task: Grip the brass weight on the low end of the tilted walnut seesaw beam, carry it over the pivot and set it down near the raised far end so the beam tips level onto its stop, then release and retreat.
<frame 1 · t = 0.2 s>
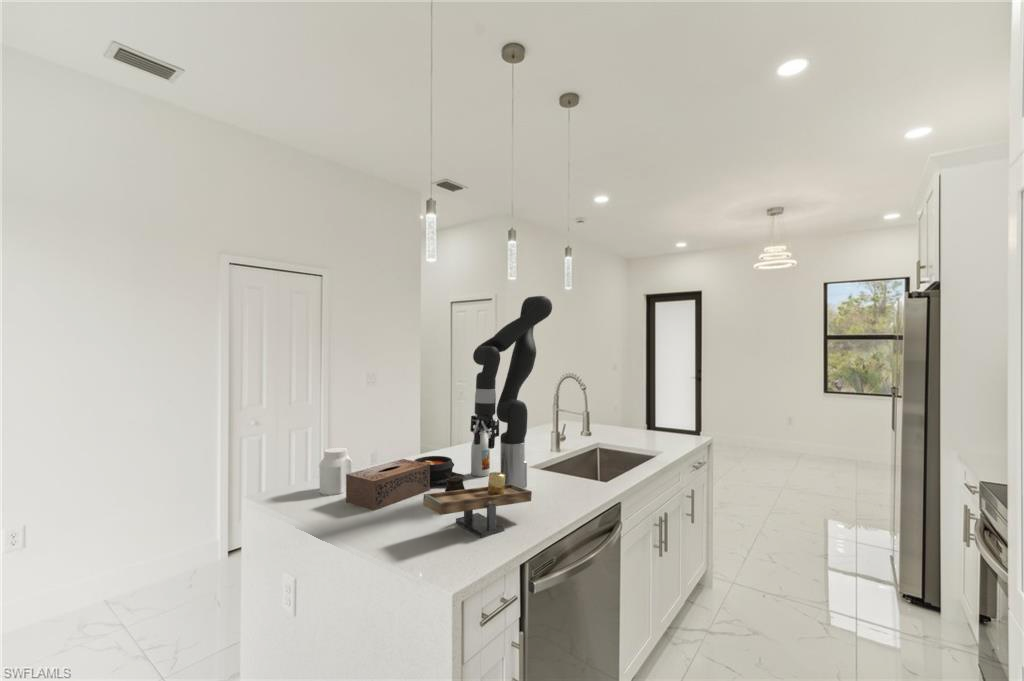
hand: (483, 446, 167), 17 cm above the countertop, tool pointing down, fingers open, 8 cm apart
pivot stand: (479, 526, 138), on the countertop
tissue box cover: (389, 497, 166), on the countertop
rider: (495, 494, 142), point 8 cm above the countertop, tilted 5°, touching beam
casserole: (432, 481, 185), on the countertop
jar: (336, 490, 173), on the countertop
mate gourd: (454, 502, 160), on the countertop
milk bottle: (480, 475, 194), on the countertop
beam: (479, 497, 138), point 8 cm above the countertop, hinge at -5.2°, touching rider
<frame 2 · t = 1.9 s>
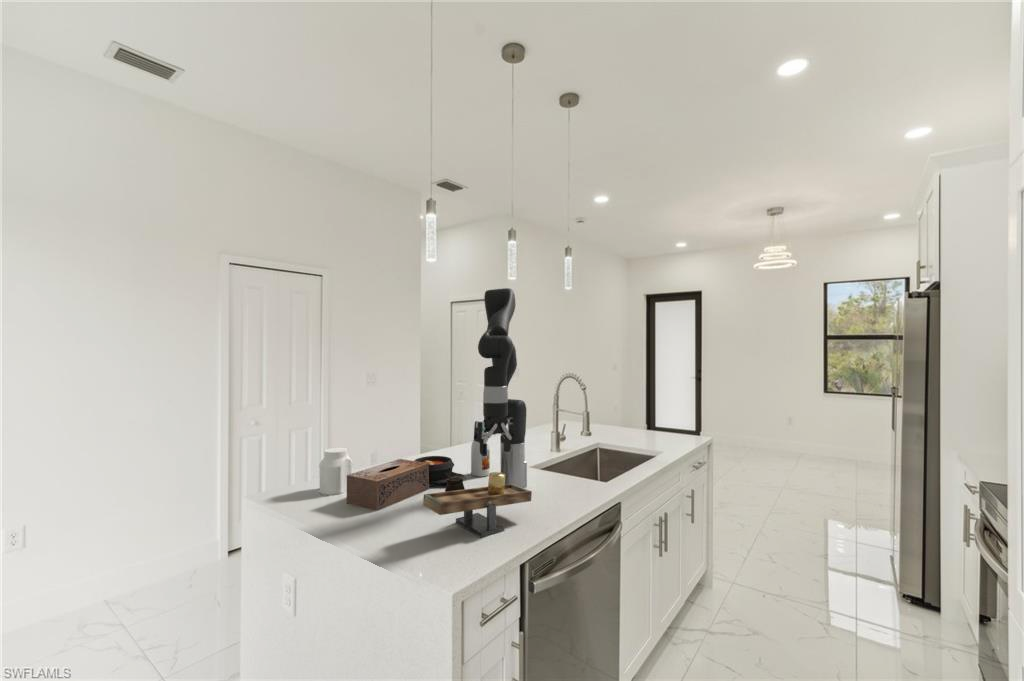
hand: (495, 453, 142), 21 cm above the countertop, tool pointing down, fingers open, 8 cm apart
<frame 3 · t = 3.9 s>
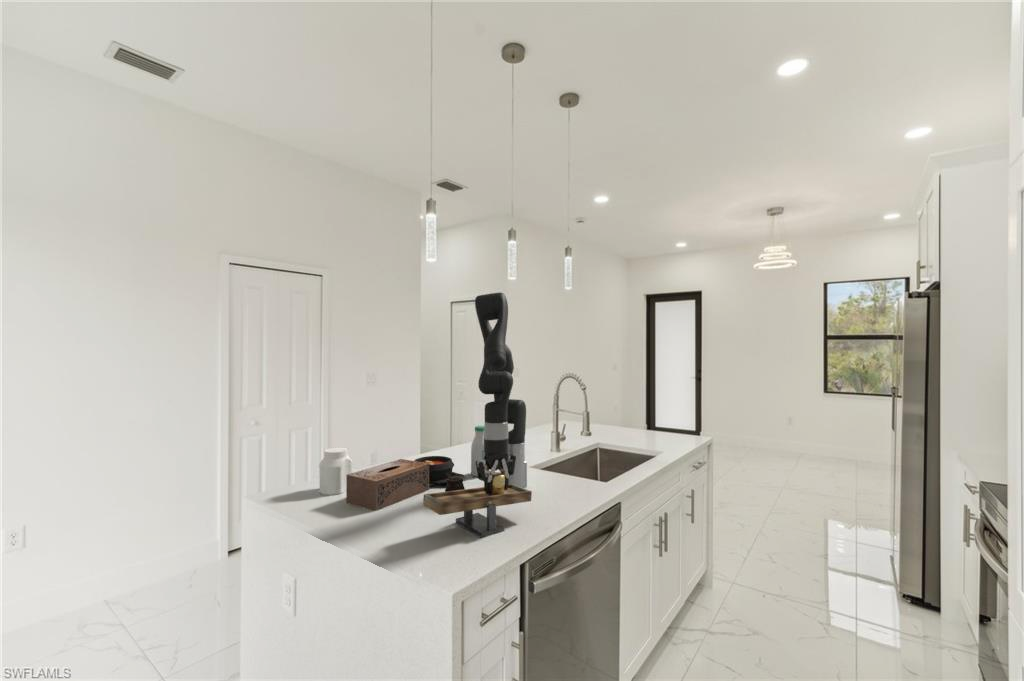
hand: (496, 491, 142), 9 cm above the countertop, tool pointing down, fingers closed on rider, 5 cm apart
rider: (495, 493, 142), point 8 cm above the countertop, tilted 5°, touching beam, gripper
everything else where it was.
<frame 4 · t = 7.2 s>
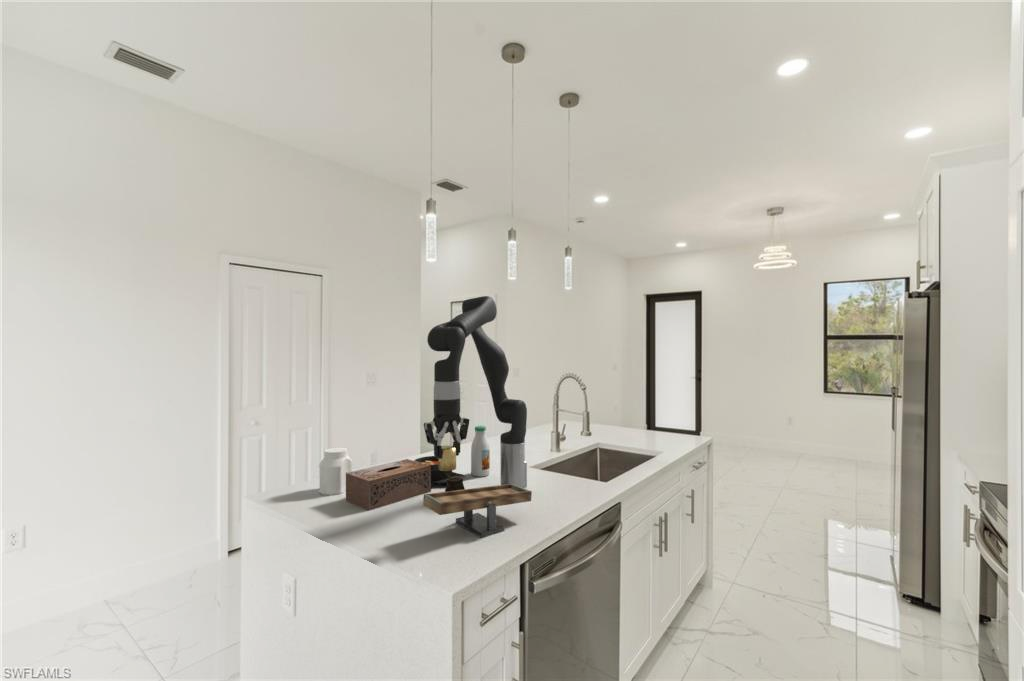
hand: (447, 456, 132), 22 cm above the countertop, tool pointing down, fingers closed on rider, 5 cm apart
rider: (447, 468, 132), point 19 cm above the countertop, touching gripper
beam: (479, 497, 138), point 8 cm above the countertop, hinge at -5.1°
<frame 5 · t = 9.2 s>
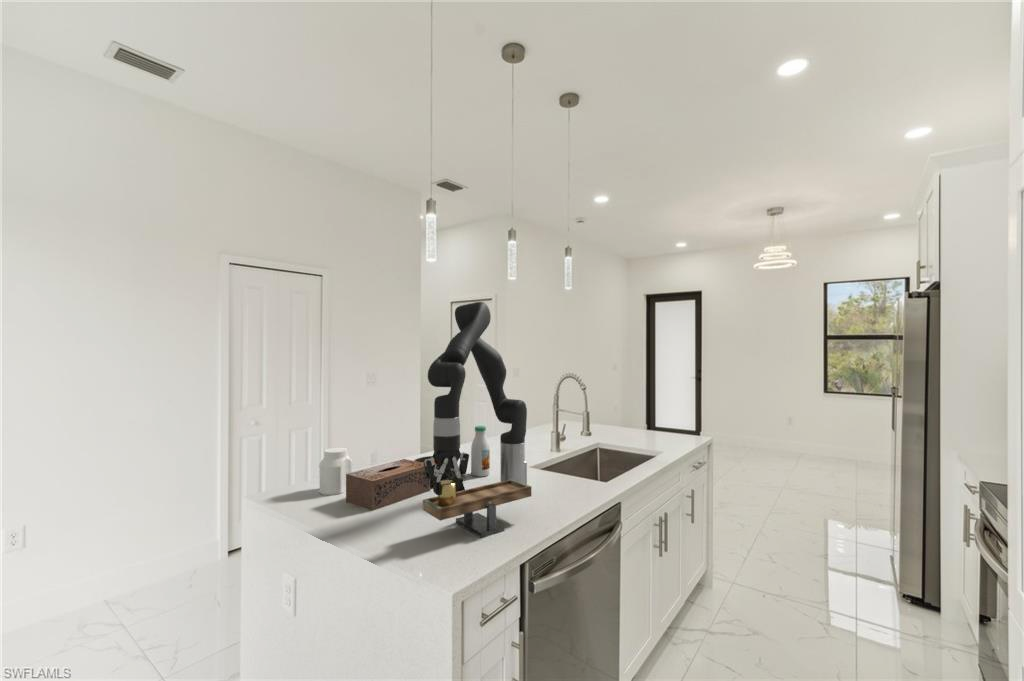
hand: (446, 492, 132), 12 cm above the countertop, tool pointing down, fingers closed on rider, 5 cm apart
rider: (446, 503, 132), point 9 cm above the countertop, touching beam, gripper
beam: (479, 497, 138), point 8 cm above the countertop, hinge at 0.2°, touching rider
when the fingers open (12 cm above the countertop, at t = 9.8 s): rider stays where it is, resting on beam.
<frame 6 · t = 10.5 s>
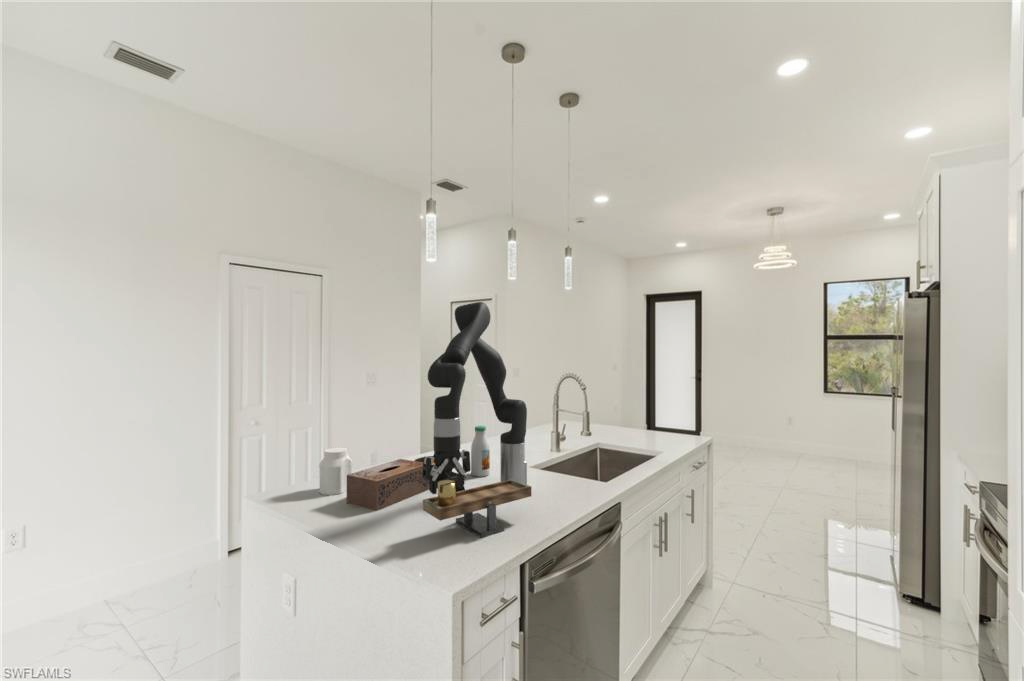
hand: (447, 490, 132), 13 cm above the countertop, tool pointing down, fingers open, 8 cm apart
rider: (446, 503, 132), point 9 cm above the countertop, touching beam
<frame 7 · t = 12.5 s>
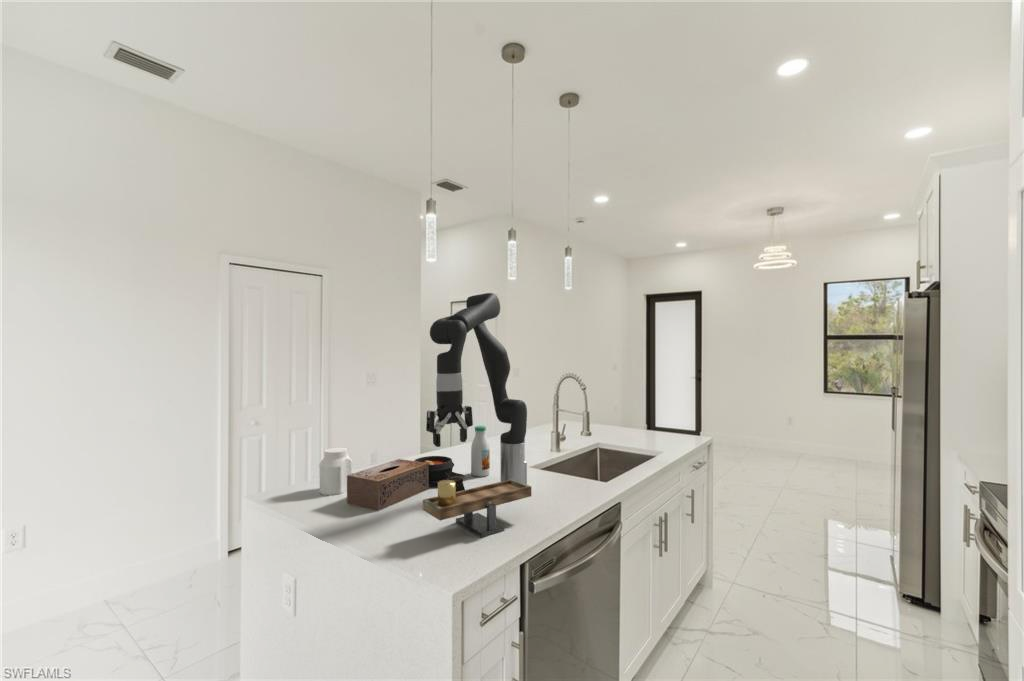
hand: (450, 444, 135), 25 cm above the countertop, tool pointing down, fingers open, 8 cm apart
nothing on the countertop moved.
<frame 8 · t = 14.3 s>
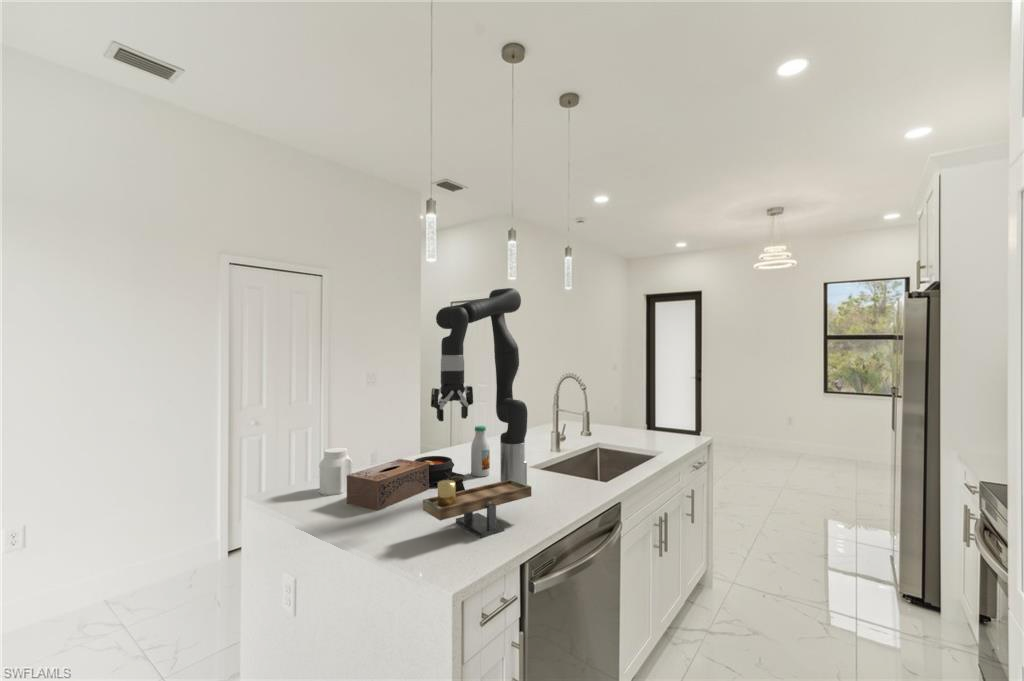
hand: (452, 419, 149), 30 cm above the countertop, tool pointing down, fingers open, 8 cm apart
nothing on the countertop moved.
at the end: beam at +0° (first picture: -5°); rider inside the target area on the beam (0.5 cm from its centre), point 1.0 cm above the beam's base; the gripper is holding nothing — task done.
